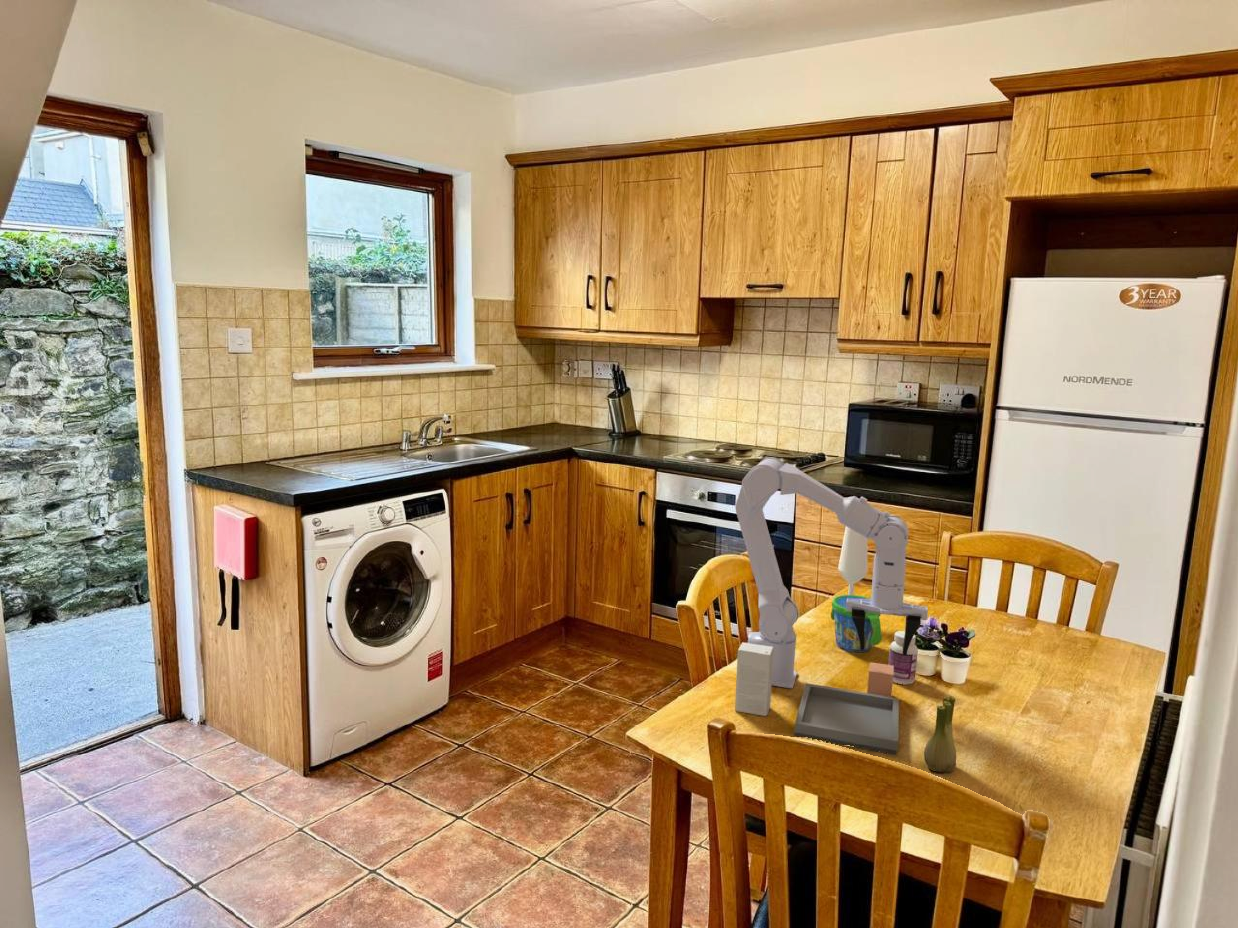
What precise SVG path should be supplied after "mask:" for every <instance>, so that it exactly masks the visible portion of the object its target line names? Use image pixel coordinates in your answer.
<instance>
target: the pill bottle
mask: <svg viewBox="0 0 1238 928" xmlns="http://www.w3.org/2000/svg"><path fill="white" fill-rule="evenodd" d="M904 636H905V630H899V631H895V633H894V641H892V642H891V644H889V656H888V664H887V665H892V666H894V672H893V684H897V683H898V685H902V684H903V685H904V686H907V685H908V684H909V685H912V684H913V683H914V682H915V680H916V673H917V665H918V664H917V663H918V662H917V661H918V654H919V653H918V652H919V650H918V649H919V648H918V647H917V645H916V635H915V634H914V636H913V638H912V640H911V642H910V645H909V647H908V651H907V655H903V642H904Z"/></svg>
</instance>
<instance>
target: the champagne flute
mask: <svg viewBox="0 0 1238 928" xmlns="http://www.w3.org/2000/svg"><path fill="white" fill-rule="evenodd" d="M868 549H869V548H868V539H867V538H866V537H864V536H862V535H860V534H859V533H857V532H855V531H854V530H852V529H850V528H848V527H847V526H845V528H844V534H843V539H842V545H841V551H840V557H839V563H838V566H837V567H838V568H837V569H838V571H839V574H840V576H841V577H842V578H843V579H844V581H846V582H847V583H848V592H847V595H854V591H855V584H856V583H858V582H860V581H861V580H863V579H864V578H865V577H866V576H867V574H868V572H869V569H868V568H869V567H868V566H869V565H868V564H869V563H868V561H869V559H868V551H869V550H868ZM833 623H835V620H833Z"/></svg>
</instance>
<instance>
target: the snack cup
mask: <svg viewBox="0 0 1238 928" xmlns="http://www.w3.org/2000/svg"><path fill="white" fill-rule="evenodd" d="M847 598H849V599H871V597H867V596H863V595H858V594H857V595H856V594H853V595H848V594H844V595H838V596H836V597H834V598H833V600H832V601H831V606H832V608H831V611H830V618H831V620H832V621H834V620H835V622H834V633H835V643H836V645H837V646H838V647H840V648H842V649H843V650H845V651H850V652H854V653H865V652H867V651H869V650H870V649H871V648H872V646H877V645H879V644H880V643H882V639H883V638H882V637H883V635H882V627H881V621H880V617H881V615H882V614H878V613H869V612H866V614H865V629H864V631H865V644H864V650H861V649H860V640H859V636H858V632H857V629H856V627H855V624H854V622H853V619H852V611H851V612H850V611H846V603H847Z"/></svg>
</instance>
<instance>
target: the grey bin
mask: <svg viewBox="0 0 1238 928" xmlns="http://www.w3.org/2000/svg"><path fill="white" fill-rule="evenodd" d="M899 701H900V698H898V697H893V696H891V697H888V696H882V695H876V694H870V693H867V692H862V691H857V690H851V689H843V688H837V687H832V686H828V685H827V686H826V685H819V684H813V683H807V682H805V684H804V688H803V692H802V695H801V700H800V703H799V707H798V711H797V715H796V718H795V722H794V733H793V737H794V736H796V737H795V738H799V737H808V738H812V739H817V740H822V741H826V742H830V743H829V744H832V743H835V744H834V745H838V744H839V746H843V745H850V746H854V747H856V748H855V749H860V750H866V751H871V752H878V753H882V752H883V754H887V753H888V754H887V755H893V756H898V749H899V747H898V745H899V716H900V715H899V711H900V710H899V709H900V702H899ZM826 742H825V743H826ZM854 747H853V748H854ZM879 751H880V752H879Z"/></svg>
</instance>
